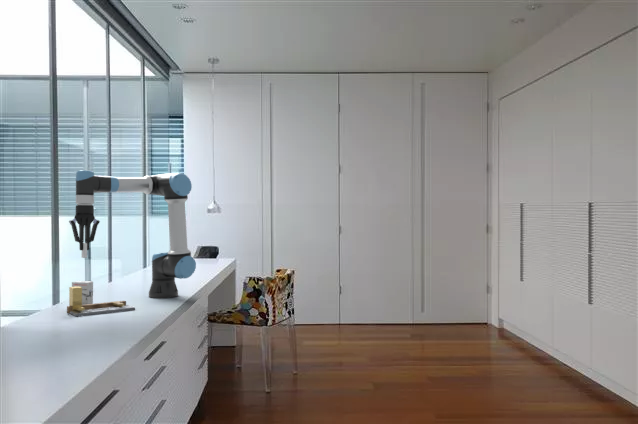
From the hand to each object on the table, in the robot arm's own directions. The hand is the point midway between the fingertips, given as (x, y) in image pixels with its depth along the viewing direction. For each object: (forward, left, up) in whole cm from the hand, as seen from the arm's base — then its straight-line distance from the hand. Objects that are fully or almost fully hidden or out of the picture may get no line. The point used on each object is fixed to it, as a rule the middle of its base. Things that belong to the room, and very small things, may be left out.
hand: (84, 257), depth 260 cm
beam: (-7, +1, -24) cm, 25 cm away
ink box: (-5, -17, -25) cm, 31 cm away
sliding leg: (+3, 0, -24) cm, 24 cm away
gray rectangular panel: (-7, +5, -24) cm, 26 cm away
